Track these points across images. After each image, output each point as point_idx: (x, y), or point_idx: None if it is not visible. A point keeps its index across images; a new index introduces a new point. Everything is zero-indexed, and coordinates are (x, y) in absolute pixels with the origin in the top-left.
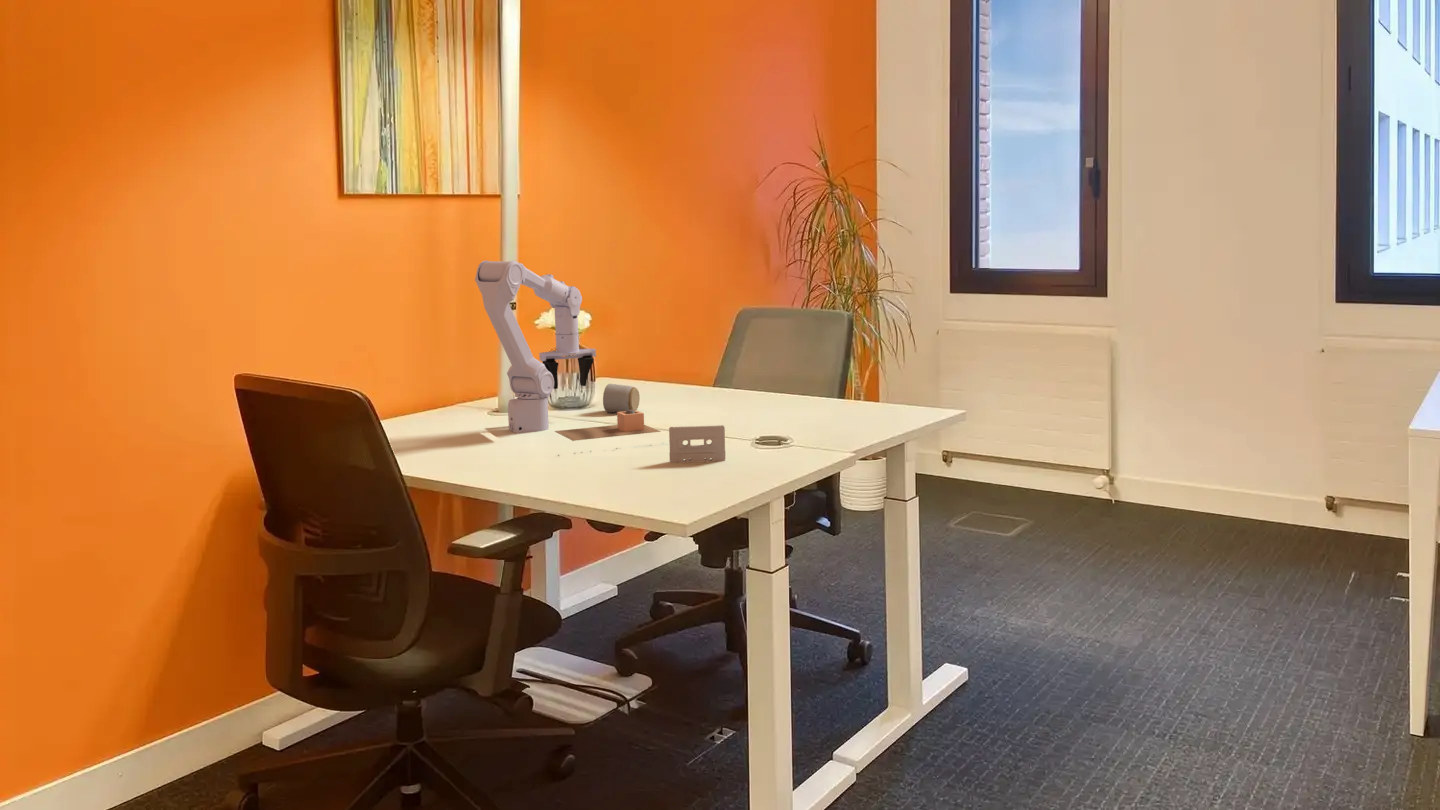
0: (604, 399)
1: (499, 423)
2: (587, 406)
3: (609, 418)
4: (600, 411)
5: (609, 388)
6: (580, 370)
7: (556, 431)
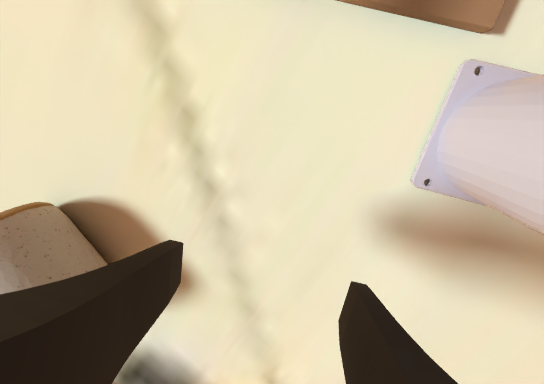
0: None
1: None
2: None
3: (143, 189)
4: None
5: None
6: (115, 362)
7: (494, 12)
